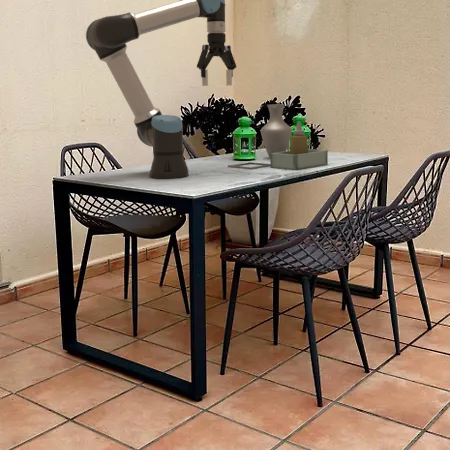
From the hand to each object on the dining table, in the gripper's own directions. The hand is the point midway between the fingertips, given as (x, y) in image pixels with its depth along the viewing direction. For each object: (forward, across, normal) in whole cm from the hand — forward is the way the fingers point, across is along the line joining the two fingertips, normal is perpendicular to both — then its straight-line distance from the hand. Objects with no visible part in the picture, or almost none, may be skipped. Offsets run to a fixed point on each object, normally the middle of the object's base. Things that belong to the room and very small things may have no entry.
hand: (217, 85), depth 268 cm
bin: (+34, +22, -27) cm, 48 cm away
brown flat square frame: (+34, +9, -10) cm, 37 cm away
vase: (+34, +37, +1) cm, 50 cm away
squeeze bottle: (+34, +22, -27) cm, 48 cm away
